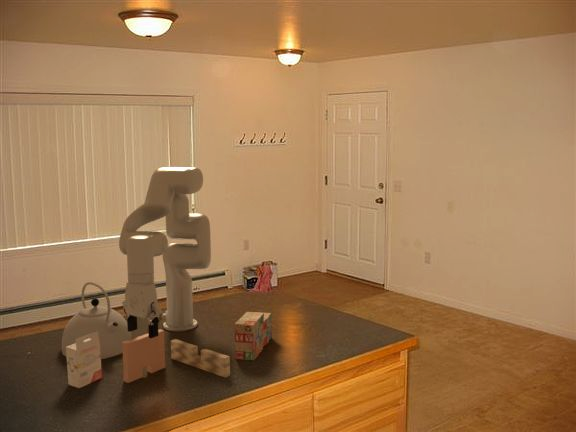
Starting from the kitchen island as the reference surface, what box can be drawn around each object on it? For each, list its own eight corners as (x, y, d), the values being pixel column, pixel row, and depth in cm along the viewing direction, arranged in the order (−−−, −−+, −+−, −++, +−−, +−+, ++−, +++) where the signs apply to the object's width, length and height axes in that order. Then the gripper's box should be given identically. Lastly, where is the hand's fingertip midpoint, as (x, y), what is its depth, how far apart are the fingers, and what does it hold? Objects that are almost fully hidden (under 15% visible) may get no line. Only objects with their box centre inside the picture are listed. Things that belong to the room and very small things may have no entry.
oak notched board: (171, 358, 192) (170, 340, 191) (175, 356, 194) (175, 338, 193) (225, 377, 177) (225, 358, 177) (230, 375, 179) (229, 356, 178)
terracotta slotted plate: (123, 381, 175) (122, 342, 173) (160, 366, 186) (159, 329, 184) (128, 383, 174) (126, 343, 172) (165, 367, 185) (163, 330, 183)
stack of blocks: (255, 336, 212) (254, 303, 210) (272, 338, 210) (271, 304, 208) (235, 359, 191) (234, 322, 189) (253, 361, 190) (253, 324, 188)
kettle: (148, 348, 201) (146, 283, 197) (86, 368, 185) (82, 298, 181) (110, 331, 218) (107, 271, 214) (49, 347, 202) (45, 283, 198)
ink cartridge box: (91, 374, 180) (88, 327, 178) (102, 378, 177) (100, 330, 175) (67, 384, 173) (64, 336, 171) (78, 388, 170) (75, 339, 168)
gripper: (112, 275, 177) (114, 331, 180) (150, 284, 167) (151, 343, 169) (132, 271, 183) (134, 325, 186) (170, 279, 173) (172, 336, 175)
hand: (142, 333), depth 177 cm, fingers open, 9 cm apart
